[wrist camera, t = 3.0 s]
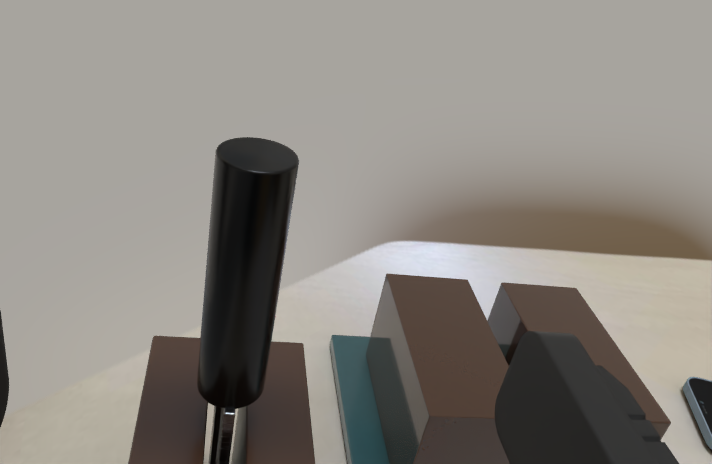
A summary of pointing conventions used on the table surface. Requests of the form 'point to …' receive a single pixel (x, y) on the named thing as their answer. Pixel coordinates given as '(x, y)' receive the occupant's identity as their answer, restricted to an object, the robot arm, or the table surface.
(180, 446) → the knife block
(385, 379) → the twin blocks on tray
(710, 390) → the smartphone
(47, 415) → the table surface
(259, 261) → the knife
